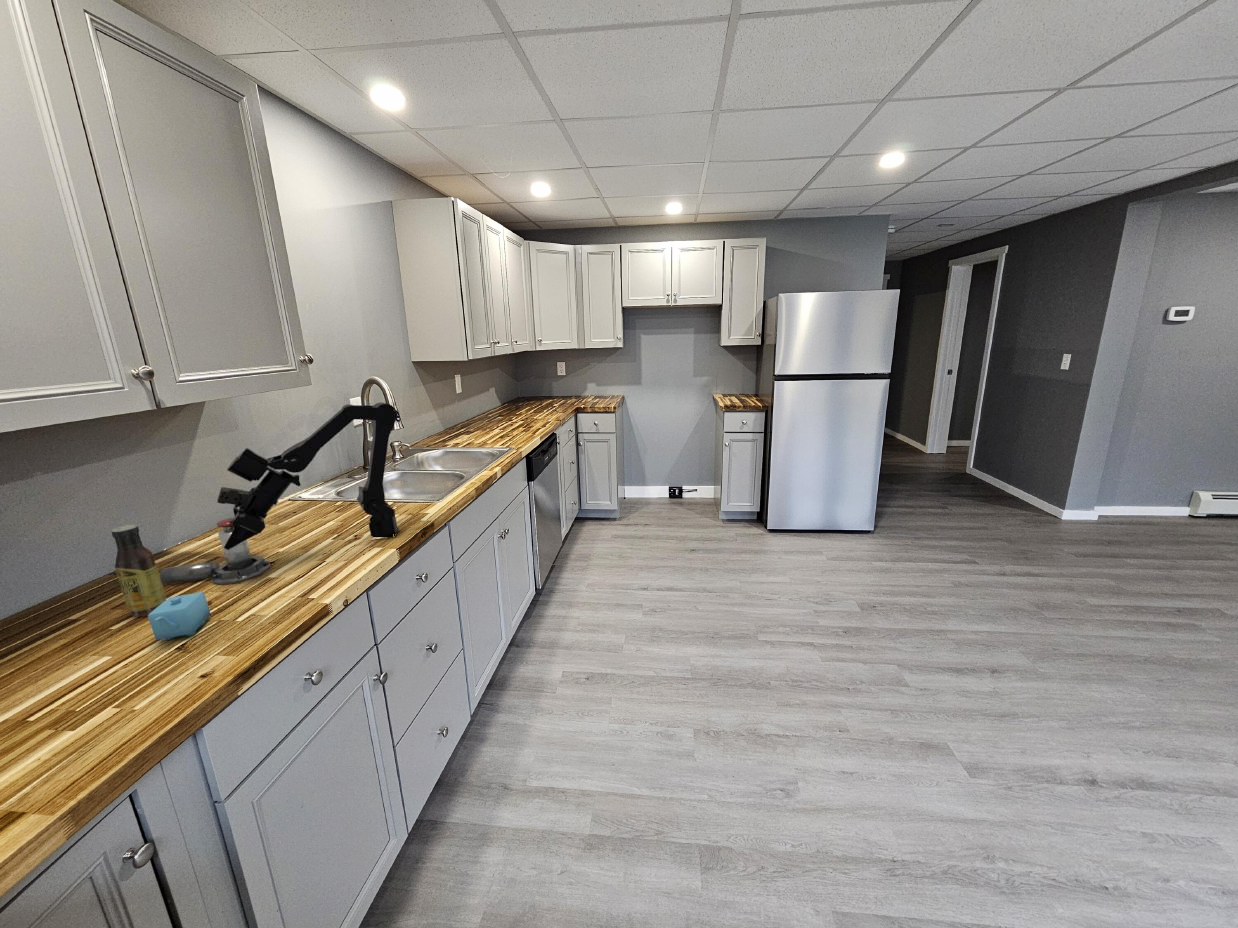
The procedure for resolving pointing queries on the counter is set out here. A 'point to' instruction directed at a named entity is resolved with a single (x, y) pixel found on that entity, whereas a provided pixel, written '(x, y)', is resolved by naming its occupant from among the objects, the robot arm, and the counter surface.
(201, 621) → the teapot
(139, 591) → the sauce bottle
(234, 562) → the jar with red lid
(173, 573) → the dark grey handled piece
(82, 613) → the counter surface
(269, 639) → the counter surface
